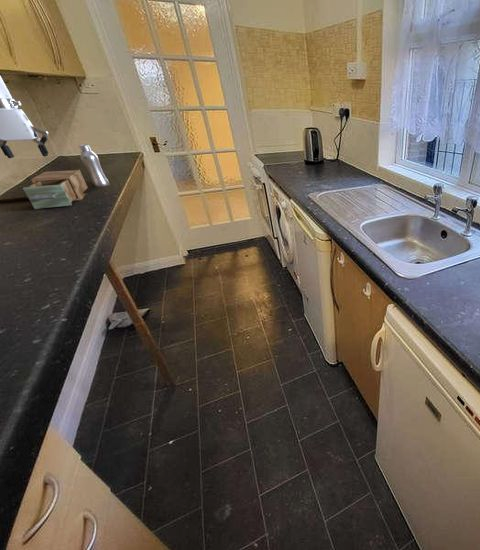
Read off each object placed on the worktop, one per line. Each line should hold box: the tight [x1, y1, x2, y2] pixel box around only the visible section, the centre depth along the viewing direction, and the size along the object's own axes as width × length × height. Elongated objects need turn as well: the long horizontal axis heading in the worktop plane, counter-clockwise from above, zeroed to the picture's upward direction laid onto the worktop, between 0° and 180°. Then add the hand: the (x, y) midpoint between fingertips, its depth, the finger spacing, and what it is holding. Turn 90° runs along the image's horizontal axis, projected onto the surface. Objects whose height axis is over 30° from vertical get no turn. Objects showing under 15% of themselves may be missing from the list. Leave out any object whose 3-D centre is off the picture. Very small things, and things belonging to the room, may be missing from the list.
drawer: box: [22, 179, 77, 210], centre depth 121 cm, size 18×11×8 cm, turn 27°
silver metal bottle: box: [78, 144, 110, 188], centre depth 142 cm, size 6×7×20 cm
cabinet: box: [30, 169, 89, 201], centre depth 132 cm, size 15×13×10 cm
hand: (29, 156), depth 112 cm, fingers open, 9 cm apart
